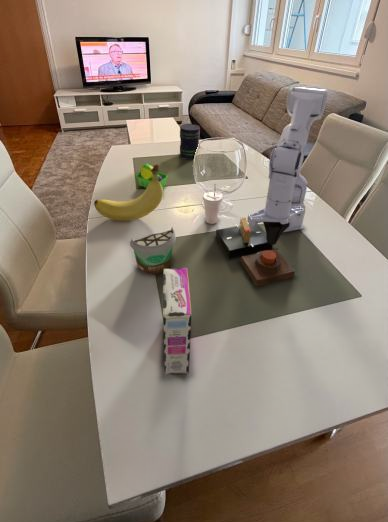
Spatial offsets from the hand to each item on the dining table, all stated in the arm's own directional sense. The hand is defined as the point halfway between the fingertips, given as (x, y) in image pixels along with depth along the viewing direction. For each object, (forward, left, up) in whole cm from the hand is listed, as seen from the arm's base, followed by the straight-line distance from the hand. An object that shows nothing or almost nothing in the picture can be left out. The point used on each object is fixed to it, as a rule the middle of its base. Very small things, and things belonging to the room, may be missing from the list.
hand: (271, 242), depth 76 cm
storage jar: (-4, -83, -10) cm, 84 cm away
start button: (0, 0, -6) cm, 6 cm away
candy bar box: (+29, +14, -10) cm, 34 cm away
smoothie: (+6, -26, -10) cm, 28 cm away
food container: (+28, -9, -10) cm, 31 cm away
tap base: (+1, -12, -9) cm, 15 cm away
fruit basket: (+21, -55, -10) cm, 60 cm away
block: (0, 0, -9) cm, 9 cm away
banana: (+32, -35, -10) cm, 48 cm away
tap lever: (+1, -12, -6) cm, 14 cm away
